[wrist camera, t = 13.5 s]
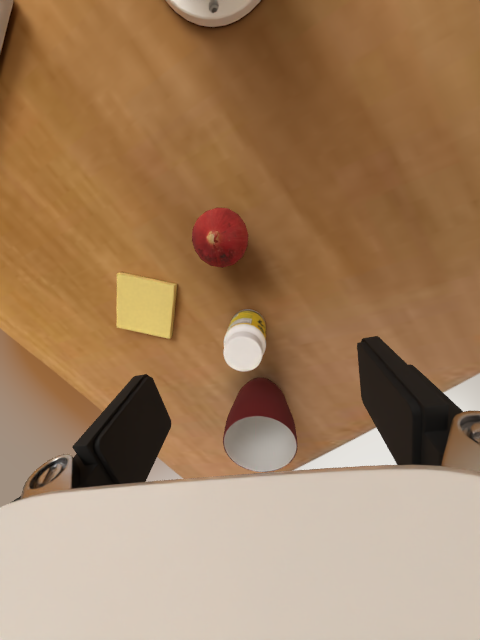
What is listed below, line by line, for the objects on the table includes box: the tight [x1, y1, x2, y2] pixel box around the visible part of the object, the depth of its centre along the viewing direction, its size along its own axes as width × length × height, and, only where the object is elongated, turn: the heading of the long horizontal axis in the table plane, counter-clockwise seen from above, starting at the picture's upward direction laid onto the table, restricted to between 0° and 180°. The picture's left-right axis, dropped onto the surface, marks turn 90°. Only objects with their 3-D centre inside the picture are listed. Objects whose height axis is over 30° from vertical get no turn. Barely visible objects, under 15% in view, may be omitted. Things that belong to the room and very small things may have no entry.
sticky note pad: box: [117, 272, 177, 339], centre depth 32 cm, size 8×8×1 cm
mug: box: [223, 378, 297, 472], centre depth 30 cm, size 11×8×10 cm
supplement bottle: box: [224, 309, 266, 371], centre depth 28 cm, size 5×5×8 cm
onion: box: [192, 208, 248, 267], centre depth 24 cm, size 6×6×8 cm
